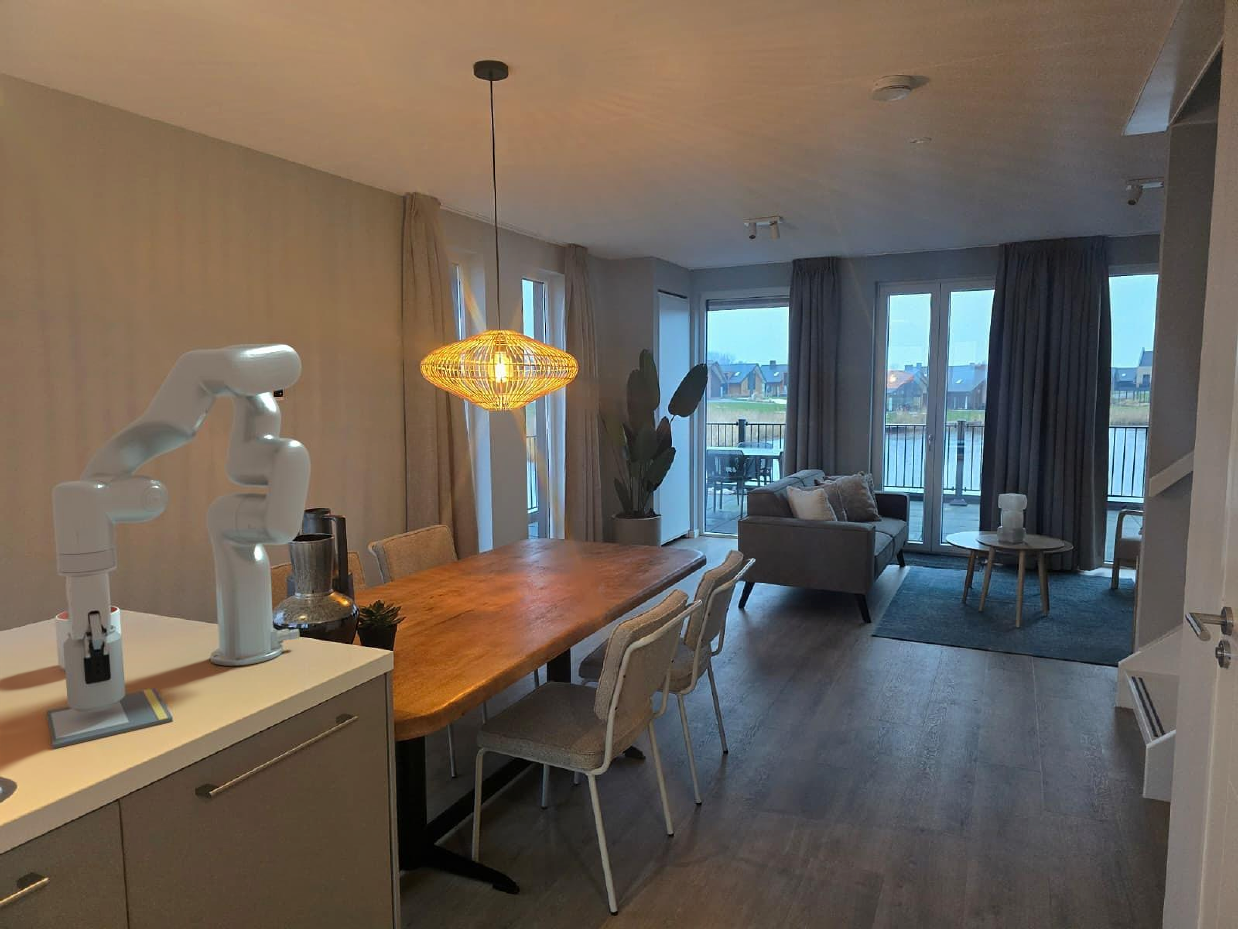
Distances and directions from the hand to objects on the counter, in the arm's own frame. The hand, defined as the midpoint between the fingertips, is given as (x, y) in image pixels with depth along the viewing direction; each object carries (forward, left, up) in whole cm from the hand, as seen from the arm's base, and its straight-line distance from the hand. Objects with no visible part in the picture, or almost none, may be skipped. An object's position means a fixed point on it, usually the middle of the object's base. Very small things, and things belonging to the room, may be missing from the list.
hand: (95, 673), depth 122 cm
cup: (-2, -32, -8) cm, 33 cm away
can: (0, 0, -5) cm, 5 cm away
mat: (-1, 0, -7) cm, 7 cm away
